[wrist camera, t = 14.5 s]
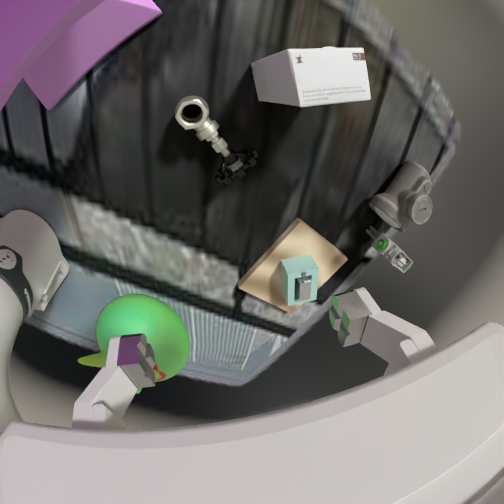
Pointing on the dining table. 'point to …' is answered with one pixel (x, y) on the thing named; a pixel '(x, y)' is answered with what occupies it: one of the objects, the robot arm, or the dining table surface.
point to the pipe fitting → (405, 197)
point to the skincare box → (312, 76)
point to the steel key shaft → (303, 288)
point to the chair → (62, 41)
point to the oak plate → (287, 246)
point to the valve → (215, 140)
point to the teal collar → (298, 269)
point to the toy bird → (143, 321)
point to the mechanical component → (390, 250)
